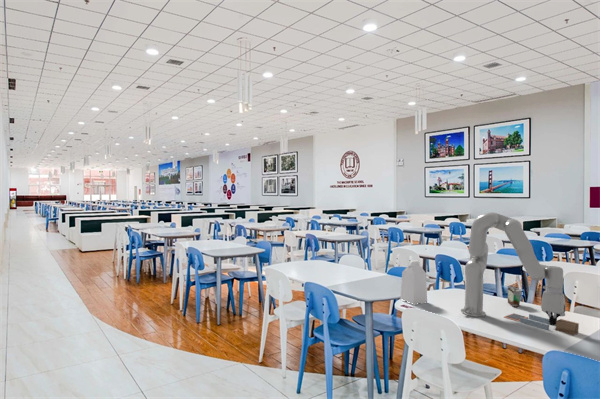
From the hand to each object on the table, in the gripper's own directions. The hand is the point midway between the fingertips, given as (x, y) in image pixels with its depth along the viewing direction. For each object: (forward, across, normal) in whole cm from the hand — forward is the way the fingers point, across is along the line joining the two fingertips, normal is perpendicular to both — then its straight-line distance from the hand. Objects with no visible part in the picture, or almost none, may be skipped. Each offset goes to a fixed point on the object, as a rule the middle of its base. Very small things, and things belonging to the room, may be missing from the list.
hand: (552, 324), depth 202 cm
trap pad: (+2, -19, 0) cm, 19 cm away
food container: (+2, -31, +24) cm, 39 cm away
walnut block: (+2, +6, +1) cm, 7 cm away
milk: (+2, -71, -24) cm, 75 cm away
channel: (+2, -7, 0) cm, 7 cm away
